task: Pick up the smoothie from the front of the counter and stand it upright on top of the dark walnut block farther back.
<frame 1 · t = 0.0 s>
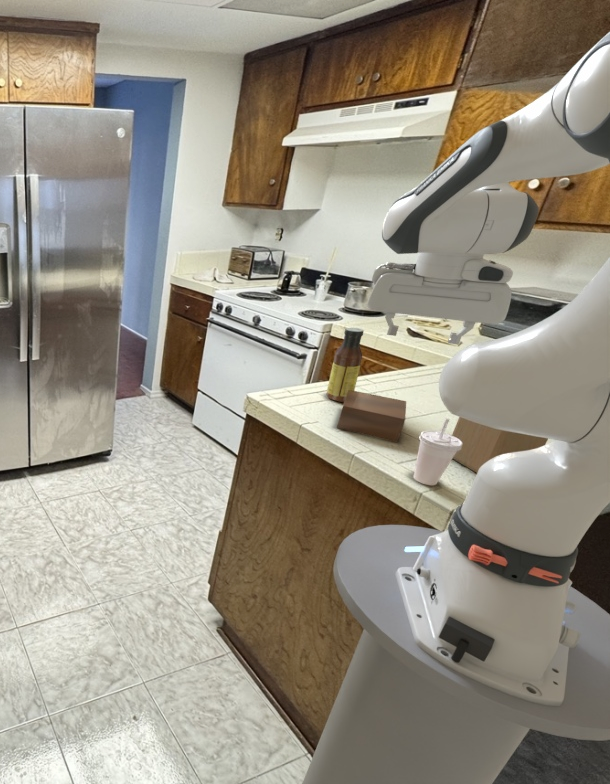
hand: (421, 338, 91), 27 cm above the counter, tool pointing down, fingers open, 8 cm apart
sauce bottle: (337, 398, 130), on the counter
smoothie: (424, 480, 94), on the counter
wooden block: (484, 466, 99), on the counter
walnut block: (367, 425, 116), on the counter
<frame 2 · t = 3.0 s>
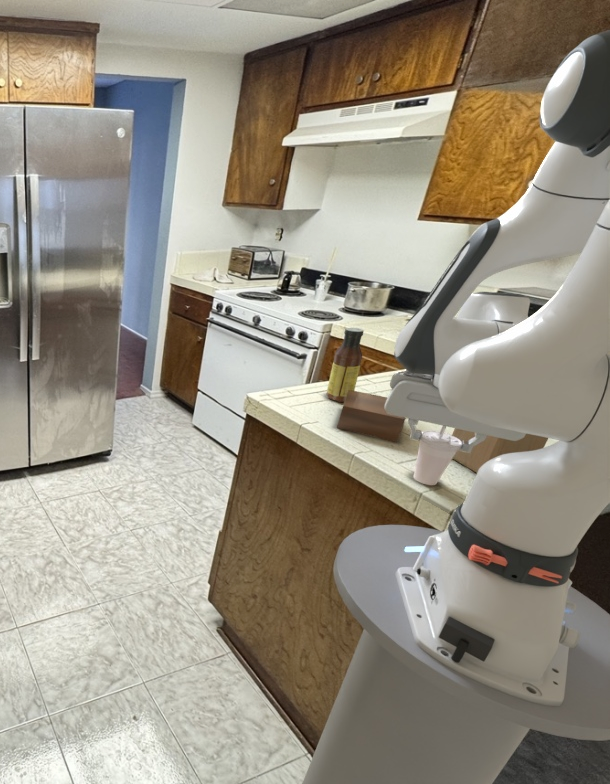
hand: (439, 444, 91), 8 cm above the counter, tool pointing down, fingers closed on smoothie, 6 cm apart
smoothie: (424, 480, 94), on the counter, touching gripper
everything else where it was.
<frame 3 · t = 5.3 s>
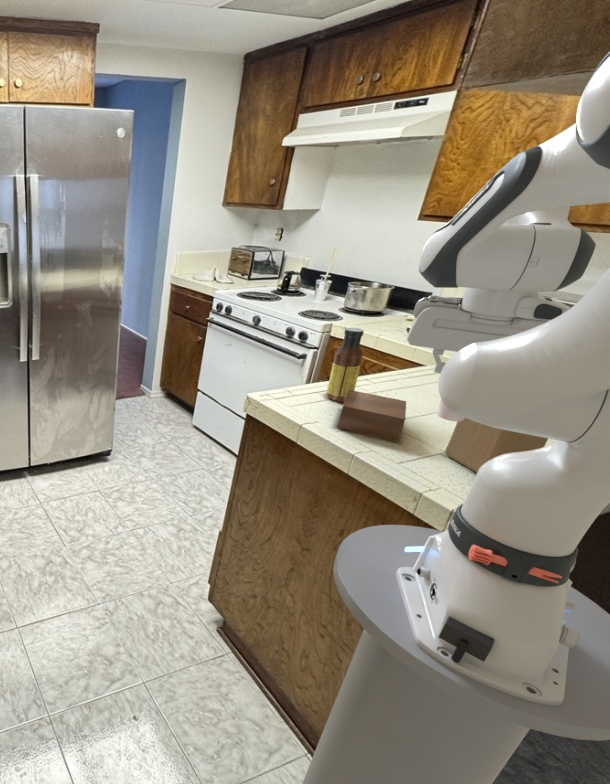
hand: (466, 376, 85), 23 cm above the counter, tool pointing down, fingers closed on smoothie, 6 cm apart
smoothie: (449, 418, 88), point 14 cm above the counter, touching gripper
everything else where it was.
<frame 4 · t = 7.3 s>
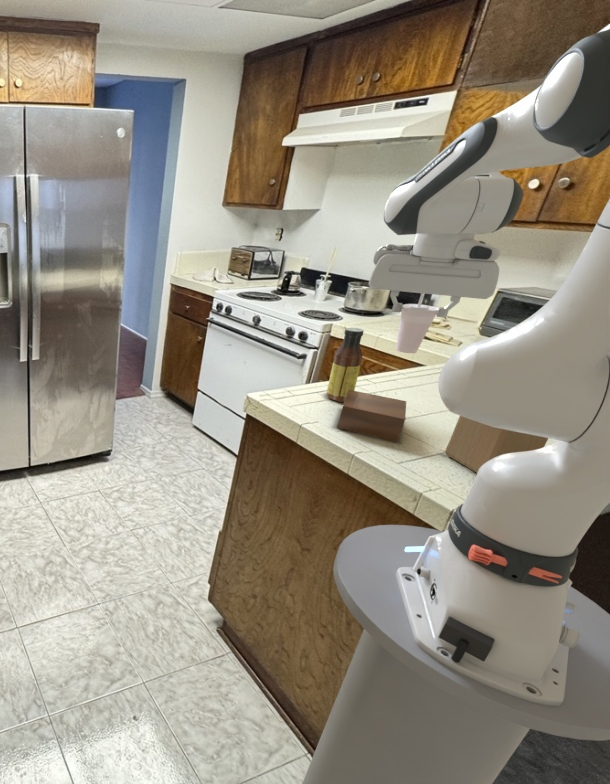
hand: (418, 314, 99), 29 cm above the counter, tool pointing down, fingers closed on smoothie, 6 cm apart
smoothie: (405, 351, 103), point 21 cm above the counter, touching gripper
everything else where it was.
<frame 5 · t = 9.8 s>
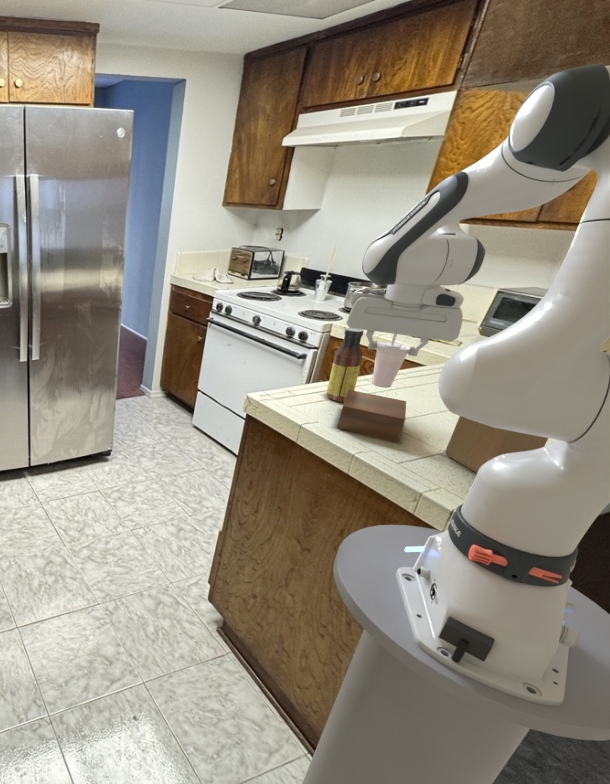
hand: (391, 352, 108), 19 cm above the counter, tool pointing down, fingers closed on smoothie, 6 cm apart
smoothie: (381, 385, 111), point 11 cm above the counter, touching gripper
everything else where it was.
when the fingers open (14 cm above the counter, at t = 11.7 s): smoothie stays where it is, resting on walnut block.
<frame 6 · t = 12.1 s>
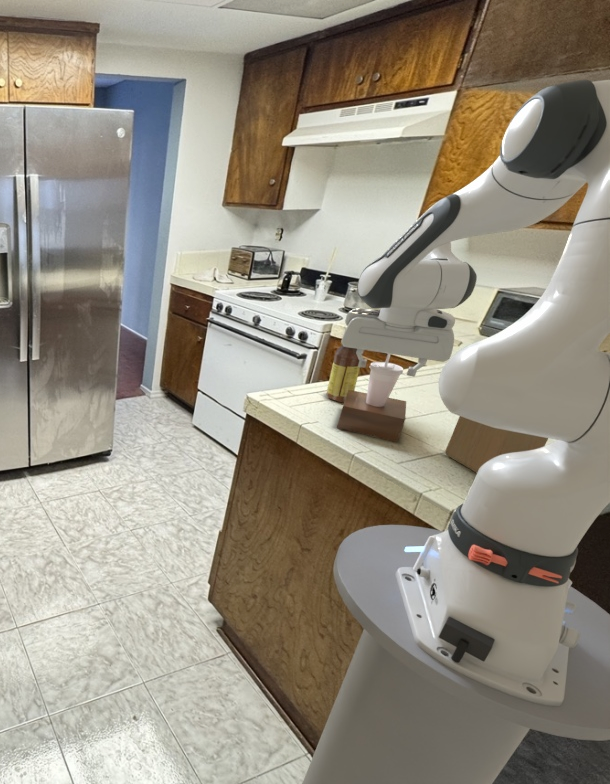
hand: (385, 371, 110), 14 cm above the counter, tool pointing down, fingers open, 8 cm apart
smoothie: (374, 404, 113), point 6 cm above the counter, touching walnut block
everything else where it was.
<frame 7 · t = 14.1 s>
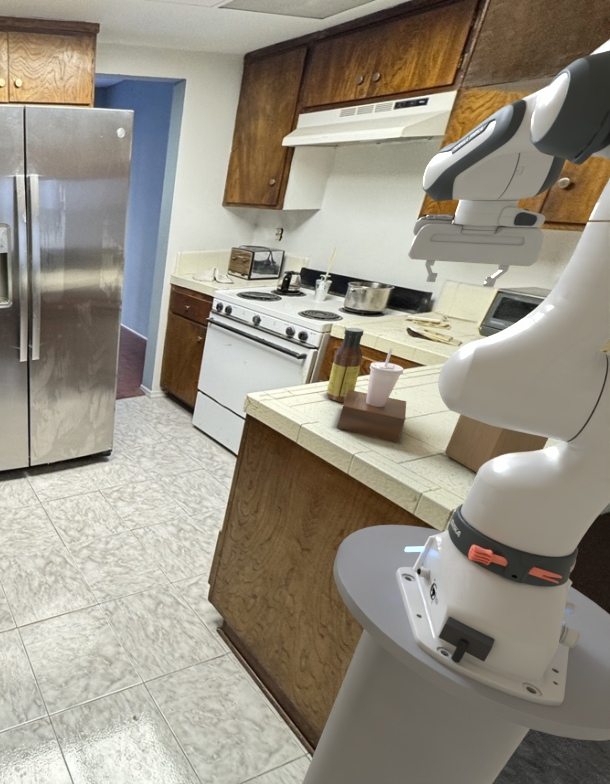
hand: (458, 283, 100), 35 cm above the counter, tool pointing down, fingers open, 8 cm apart
nothing on the counter moved.
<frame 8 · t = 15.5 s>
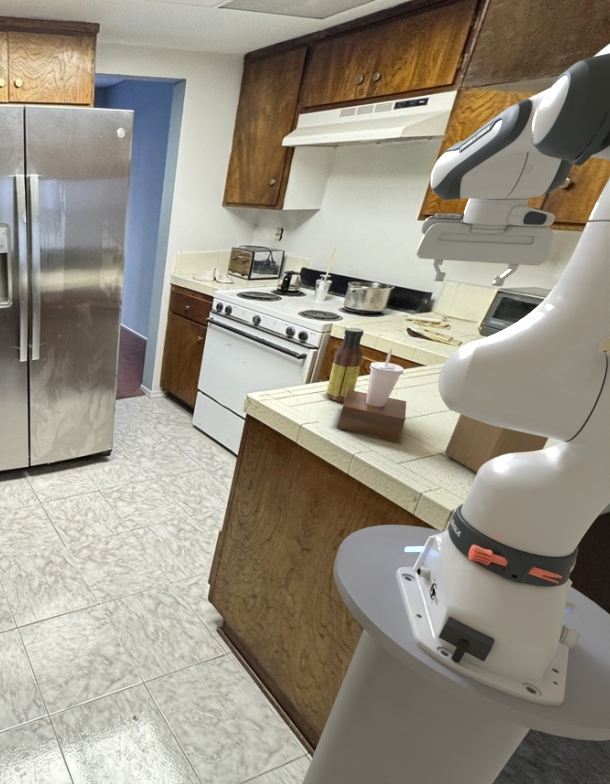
hand: (466, 283, 100), 35 cm above the counter, tool pointing down, fingers open, 8 cm apart
nothing on the counter moved.
at the end: smoothie inside the target area on the walnut block (0.1 cm from its centre), point 5.8 cm above the walnut block's base; smoothie tilted 0°; the gripper is holding nothing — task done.
